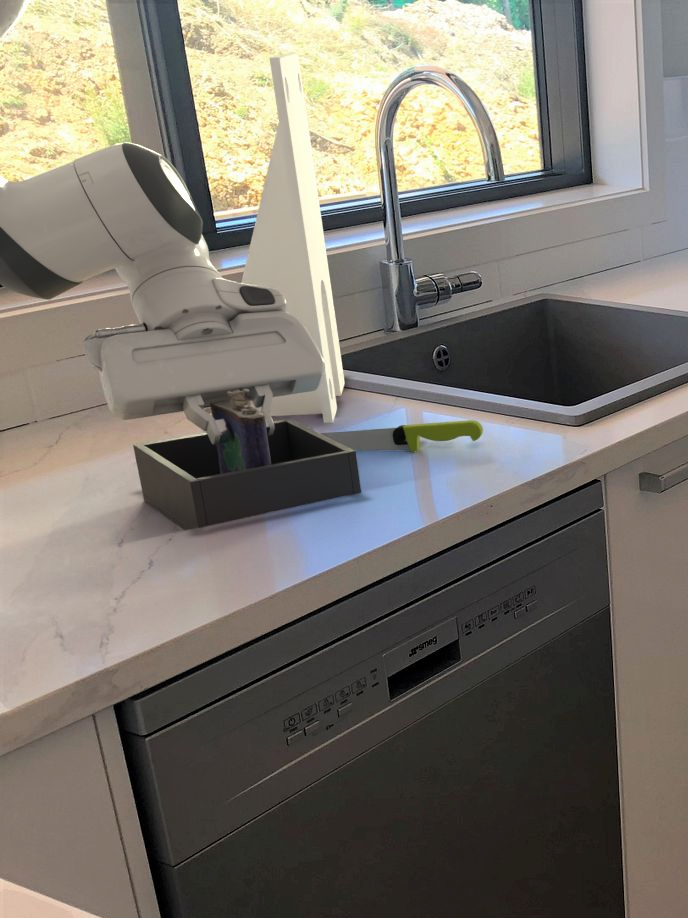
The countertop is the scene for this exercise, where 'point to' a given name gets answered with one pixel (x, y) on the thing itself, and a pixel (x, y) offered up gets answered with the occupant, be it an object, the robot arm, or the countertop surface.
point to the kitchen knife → (406, 435)
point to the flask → (241, 434)
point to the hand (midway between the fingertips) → (244, 436)
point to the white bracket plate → (296, 242)
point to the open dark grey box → (243, 476)
